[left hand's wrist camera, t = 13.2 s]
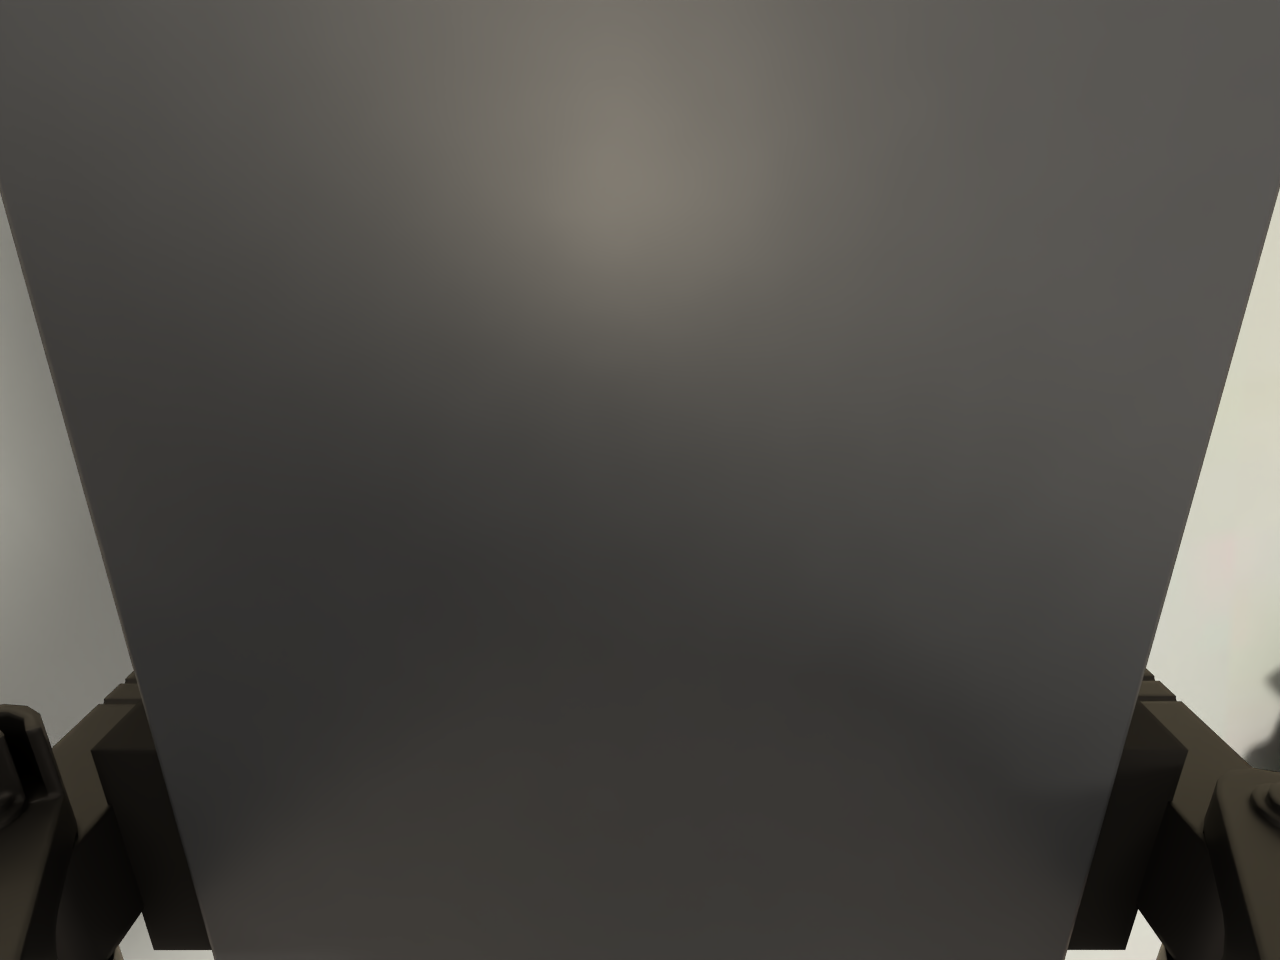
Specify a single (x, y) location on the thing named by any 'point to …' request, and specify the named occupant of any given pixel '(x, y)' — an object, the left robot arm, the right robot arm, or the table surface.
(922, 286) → the long gray bar
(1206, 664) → the table surface
